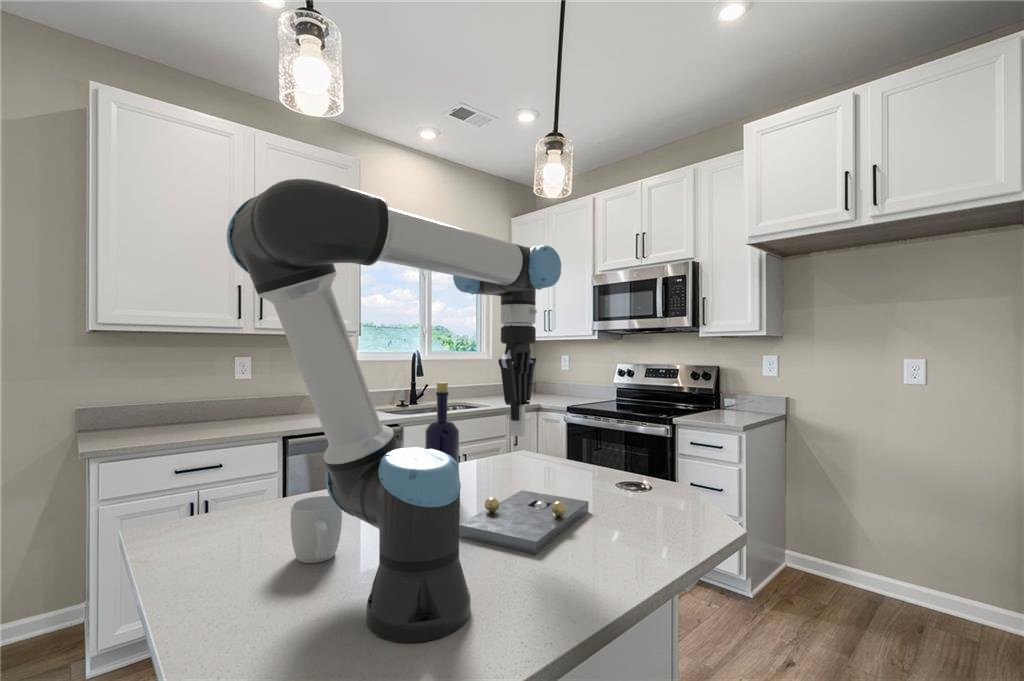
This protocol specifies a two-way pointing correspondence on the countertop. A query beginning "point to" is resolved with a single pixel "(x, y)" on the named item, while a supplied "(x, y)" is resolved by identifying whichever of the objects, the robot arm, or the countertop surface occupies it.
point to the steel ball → (541, 505)
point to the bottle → (443, 428)
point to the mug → (315, 528)
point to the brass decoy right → (558, 508)
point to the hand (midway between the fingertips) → (517, 435)
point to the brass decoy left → (491, 504)
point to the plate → (523, 522)
